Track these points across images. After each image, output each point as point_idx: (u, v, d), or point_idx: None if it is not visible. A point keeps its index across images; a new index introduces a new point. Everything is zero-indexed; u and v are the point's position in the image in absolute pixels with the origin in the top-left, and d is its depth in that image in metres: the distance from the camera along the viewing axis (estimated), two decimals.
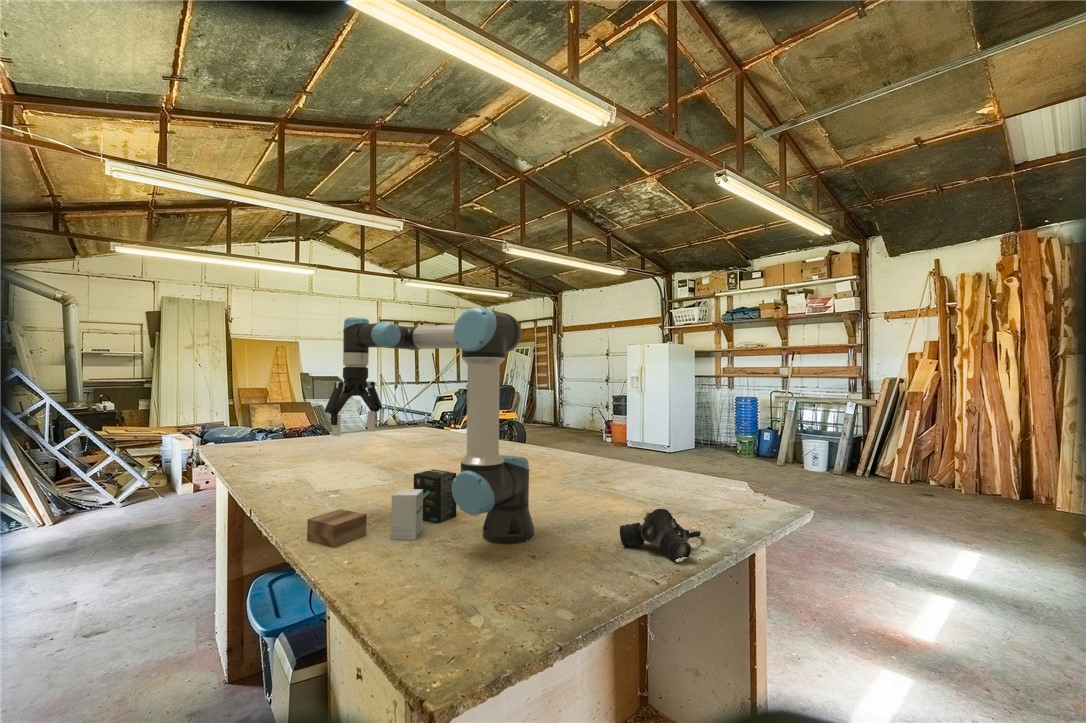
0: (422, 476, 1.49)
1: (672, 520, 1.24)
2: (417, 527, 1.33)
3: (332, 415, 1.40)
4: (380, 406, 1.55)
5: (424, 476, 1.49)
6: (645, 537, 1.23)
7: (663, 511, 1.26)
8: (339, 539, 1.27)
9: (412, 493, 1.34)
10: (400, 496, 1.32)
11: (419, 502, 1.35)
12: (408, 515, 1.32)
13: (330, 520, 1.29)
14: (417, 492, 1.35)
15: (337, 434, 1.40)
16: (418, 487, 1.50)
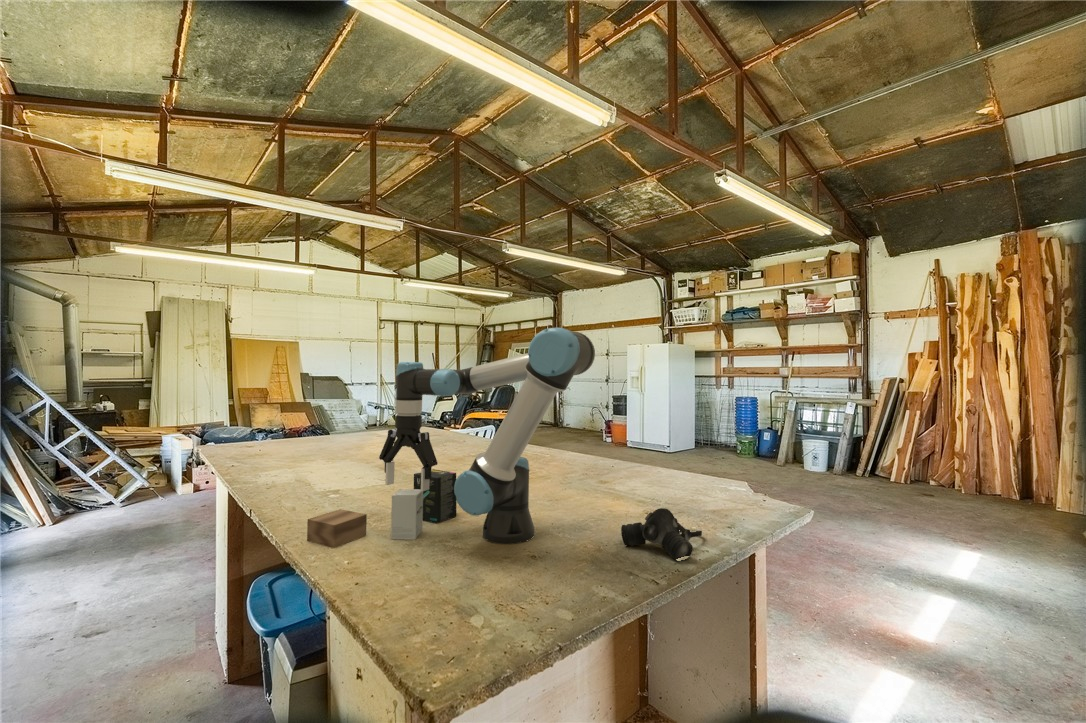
0: None
1: (674, 519, 1.24)
2: (417, 527, 1.33)
3: None
4: (430, 463, 1.30)
5: None
6: (647, 537, 1.23)
7: (664, 511, 1.26)
8: (339, 539, 1.27)
9: (412, 493, 1.34)
10: (400, 496, 1.32)
11: (419, 502, 1.35)
12: (408, 515, 1.32)
13: (330, 520, 1.29)
14: (417, 492, 1.35)
15: None
16: (418, 487, 1.50)
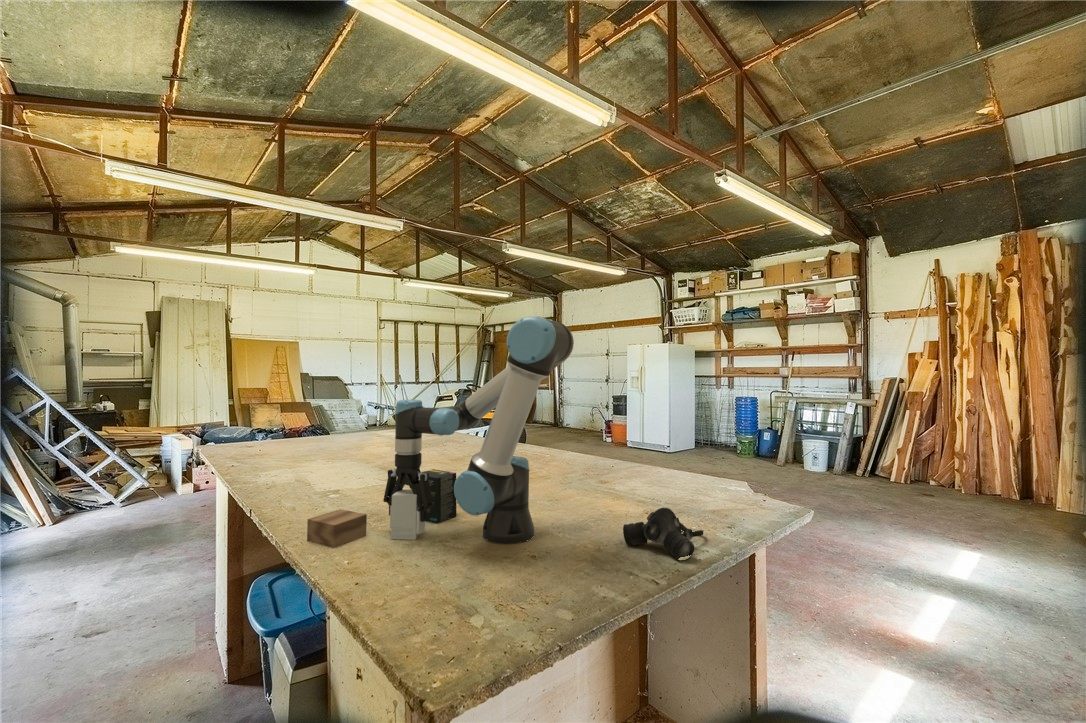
0: None
1: (676, 519, 1.25)
2: None
3: None
4: (425, 506, 1.31)
5: None
6: (648, 536, 1.24)
7: (666, 510, 1.27)
8: (339, 539, 1.27)
9: (412, 493, 1.34)
10: (400, 496, 1.32)
11: None
12: (408, 515, 1.32)
13: (330, 520, 1.29)
14: None
15: None
16: None
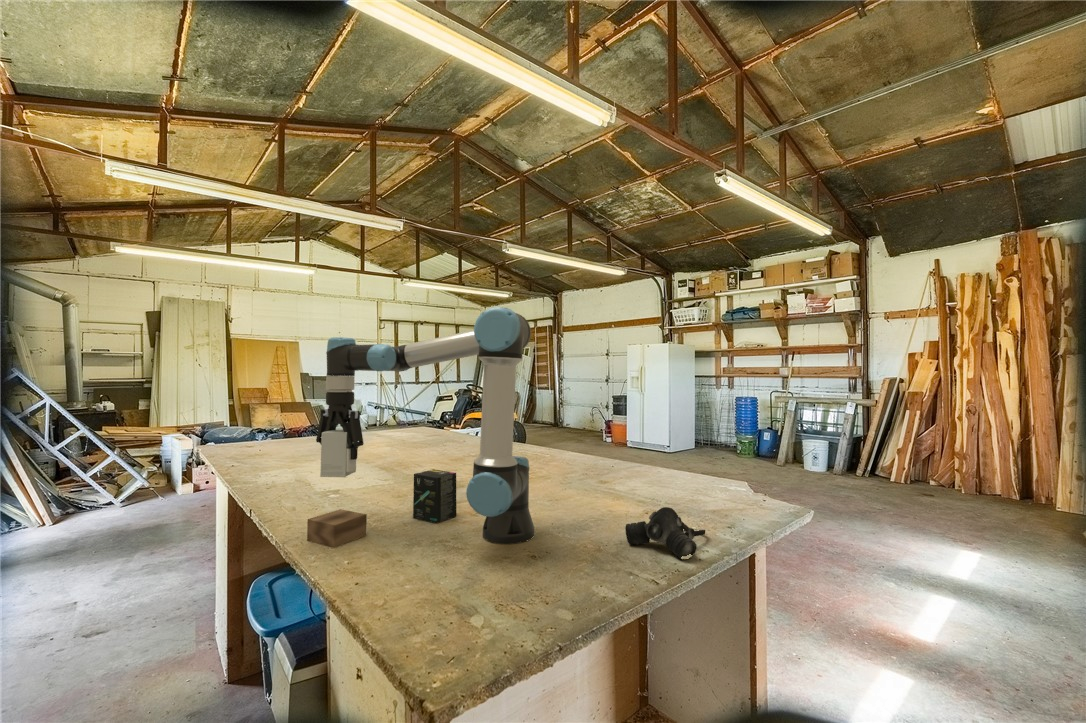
0: (422, 476, 1.49)
1: (678, 518, 1.25)
2: None
3: None
4: (354, 443, 1.29)
5: (424, 476, 1.49)
6: (651, 535, 1.24)
7: (668, 510, 1.27)
8: (339, 539, 1.27)
9: (343, 431, 1.32)
10: (330, 433, 1.30)
11: None
12: (338, 452, 1.30)
13: (330, 520, 1.29)
14: None
15: None
16: (418, 487, 1.50)
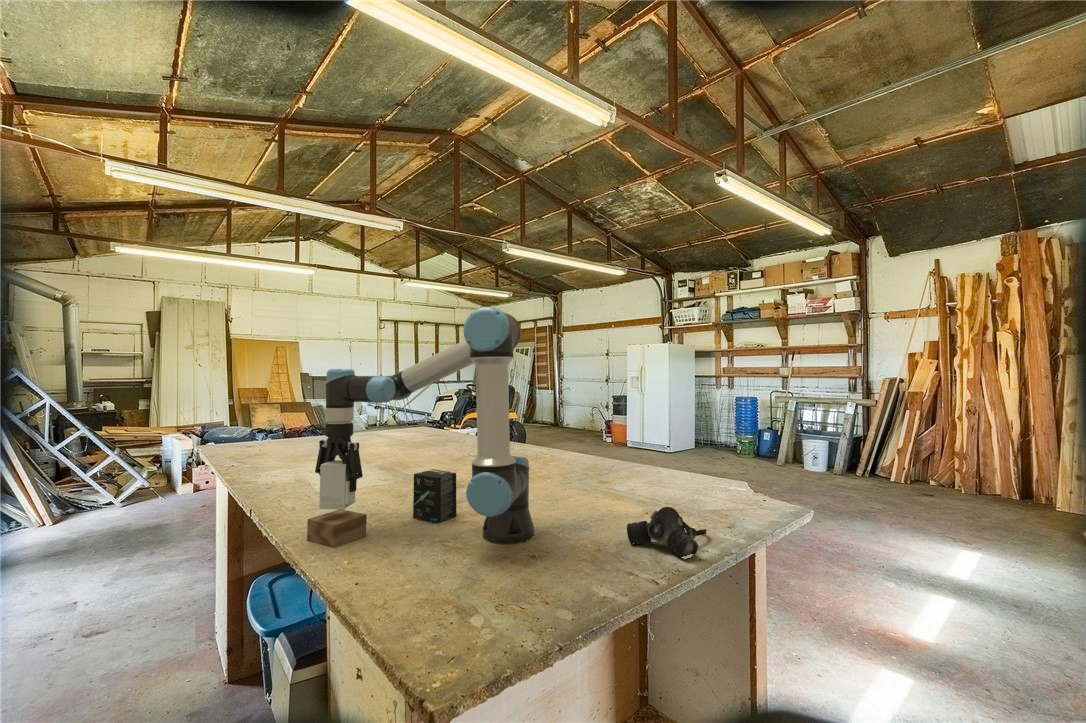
0: (422, 476, 1.49)
1: (679, 518, 1.26)
2: None
3: None
4: (353, 476, 1.28)
5: (424, 476, 1.49)
6: (652, 535, 1.24)
7: (670, 509, 1.27)
8: (339, 539, 1.27)
9: (342, 463, 1.31)
10: (329, 465, 1.30)
11: None
12: (337, 485, 1.29)
13: (330, 520, 1.29)
14: None
15: None
16: (418, 487, 1.50)
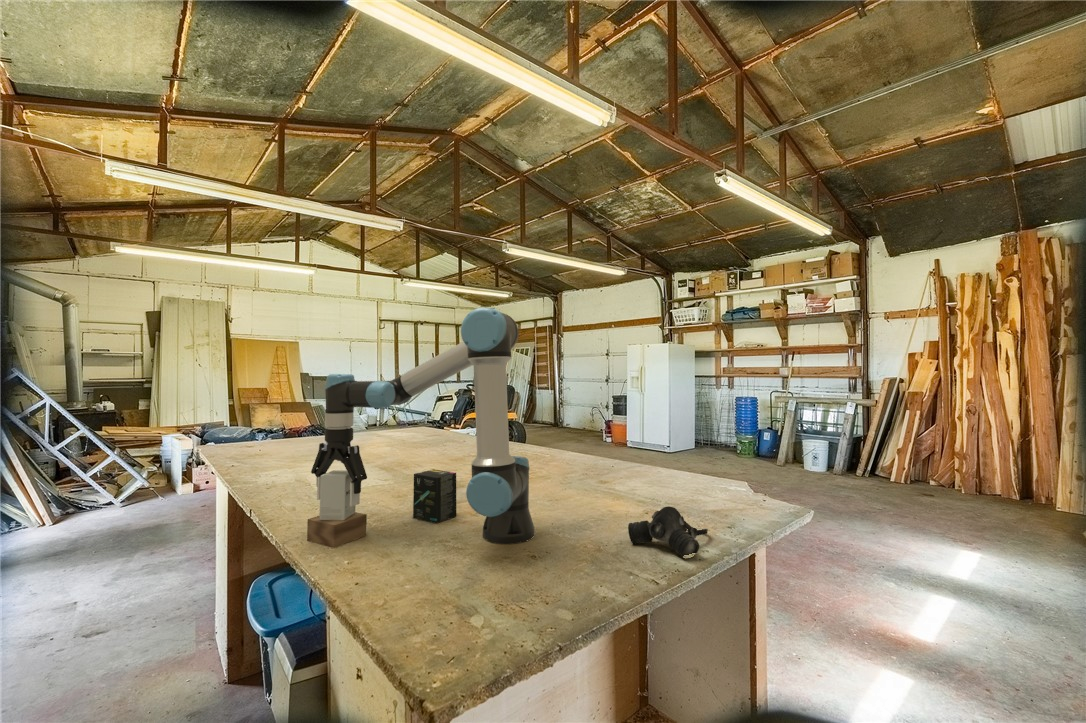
0: (422, 476, 1.49)
1: (680, 517, 1.26)
2: (347, 508, 1.30)
3: None
4: (358, 478, 1.28)
5: (424, 476, 1.49)
6: (653, 534, 1.25)
7: (671, 509, 1.28)
8: (339, 539, 1.27)
9: (342, 473, 1.31)
10: (329, 476, 1.30)
11: None
12: (337, 495, 1.29)
13: (330, 520, 1.29)
14: (348, 473, 1.33)
15: None
16: (418, 487, 1.50)
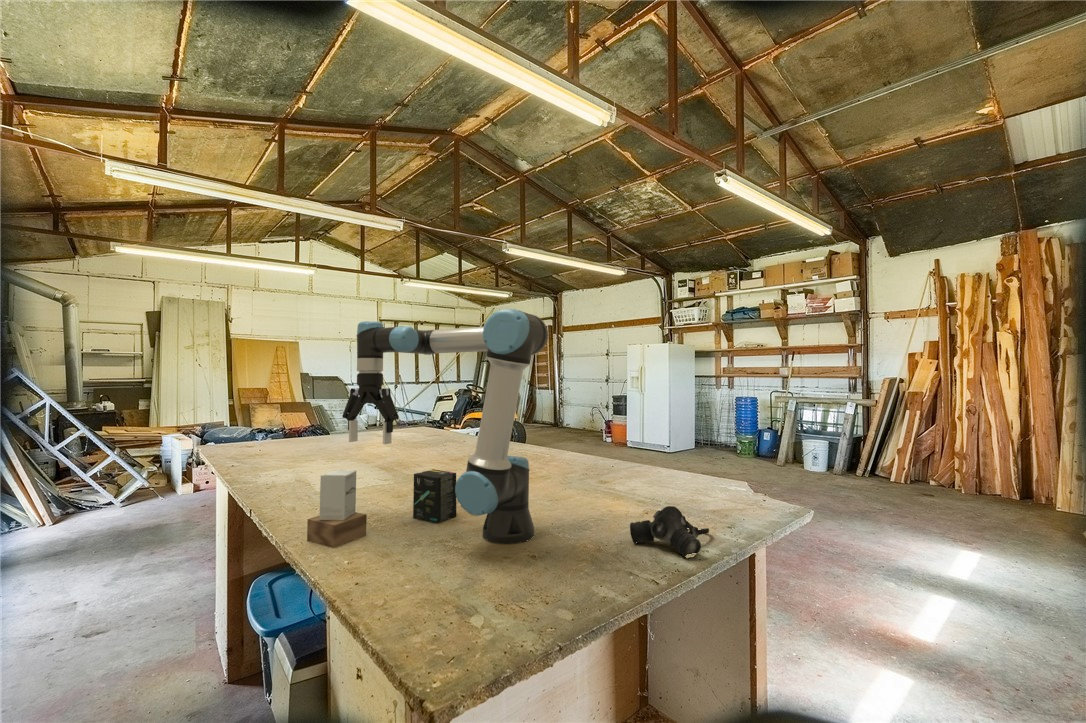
0: (422, 476, 1.49)
1: (682, 517, 1.27)
2: (347, 508, 1.30)
3: None
4: (391, 417, 1.36)
5: (424, 476, 1.49)
6: (655, 534, 1.25)
7: (673, 509, 1.28)
8: (339, 539, 1.27)
9: (342, 473, 1.31)
10: (329, 476, 1.30)
11: (350, 483, 1.32)
12: (337, 495, 1.29)
13: (330, 520, 1.29)
14: (348, 473, 1.33)
15: None
16: (418, 487, 1.50)
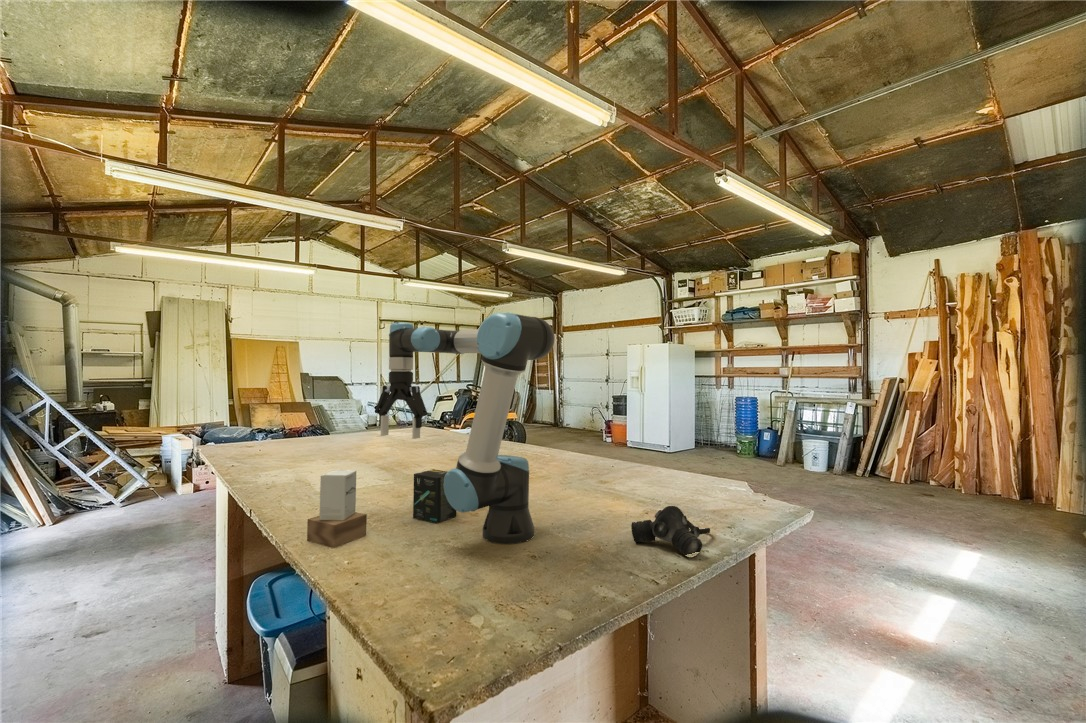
0: (422, 476, 1.49)
1: (683, 517, 1.27)
2: (347, 508, 1.30)
3: None
4: (420, 413, 1.44)
5: (424, 476, 1.49)
6: (657, 534, 1.26)
7: (674, 508, 1.29)
8: (339, 539, 1.27)
9: (342, 473, 1.31)
10: (329, 476, 1.30)
11: (350, 483, 1.32)
12: (337, 495, 1.29)
13: (330, 520, 1.29)
14: (348, 473, 1.33)
15: None
16: (418, 487, 1.50)
